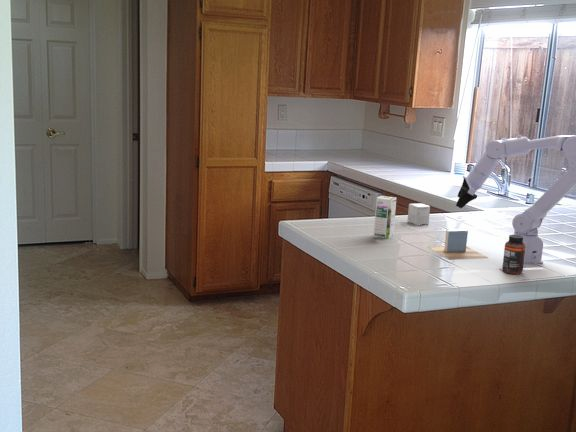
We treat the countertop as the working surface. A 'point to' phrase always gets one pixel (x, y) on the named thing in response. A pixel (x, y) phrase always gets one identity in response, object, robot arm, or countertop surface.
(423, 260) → the countertop surface
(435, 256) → the countertop surface
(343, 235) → the countertop surface
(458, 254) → the cork mat
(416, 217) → the white stone block
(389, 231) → the syrup box
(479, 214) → the countertop surface
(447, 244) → the tile
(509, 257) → the supplement bottle
